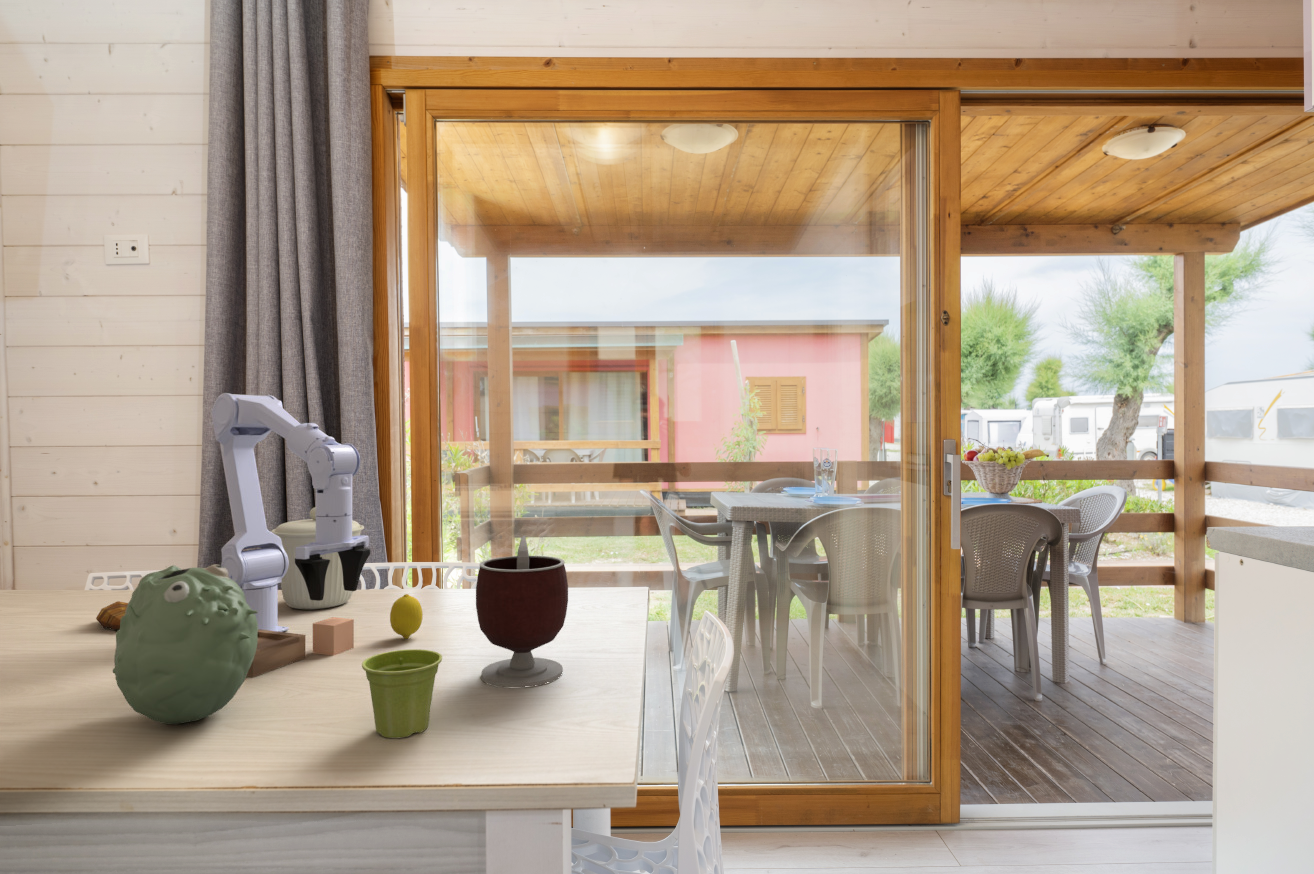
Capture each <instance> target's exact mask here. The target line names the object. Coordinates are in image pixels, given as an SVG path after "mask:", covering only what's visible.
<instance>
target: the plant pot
mask: <svg viewBox="0 0 1314 874" xmlns="http://www.w3.org/2000/svg"><path fill="white" fill-rule="evenodd" d="M442 660H443V656H442V653H439V652H437V651H434V650H429V649H414V648H413V649H411V648H410V649H398V650H391V651H386V652H380V653H377V654H375V655H372V656H369V657H367V658H365V659H364V660H363V661H362V663H361V667H362V669H363V670H364V671H365V674H366V676H365V677H366V680H368V683H369V689H370V698H371V704H372V712H373V716H374V724H375V725H374V726H375V732H376V733H377V734H380V735H381V736H382V737H383V738H388V739H398V738H399V739H401V738H407V737H410V736H411V735H412V734H414V733H421V732H423V731H425V730H427V728H428V726H429V722H430V714H431V707H432V699H433V692H434V687H435V679H436V675H437V673H438V671H439V665H440V664H441V662H442Z"/></svg>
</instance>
